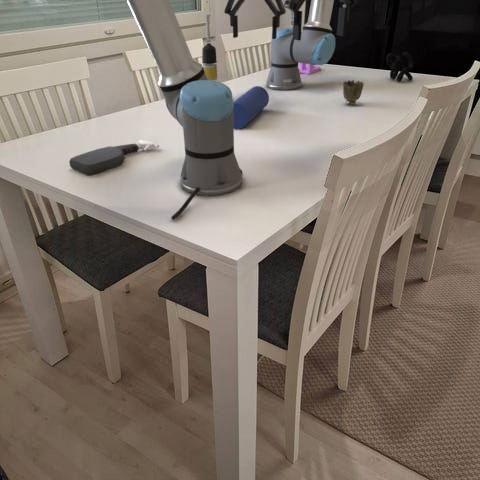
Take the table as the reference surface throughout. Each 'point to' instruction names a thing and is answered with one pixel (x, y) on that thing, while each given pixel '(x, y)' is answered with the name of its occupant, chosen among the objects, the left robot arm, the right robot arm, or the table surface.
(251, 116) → the rod
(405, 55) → the squiggle
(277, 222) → the table surface
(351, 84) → the cup
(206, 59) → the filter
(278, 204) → the table surface
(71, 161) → the spray bottle
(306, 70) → the bracket
